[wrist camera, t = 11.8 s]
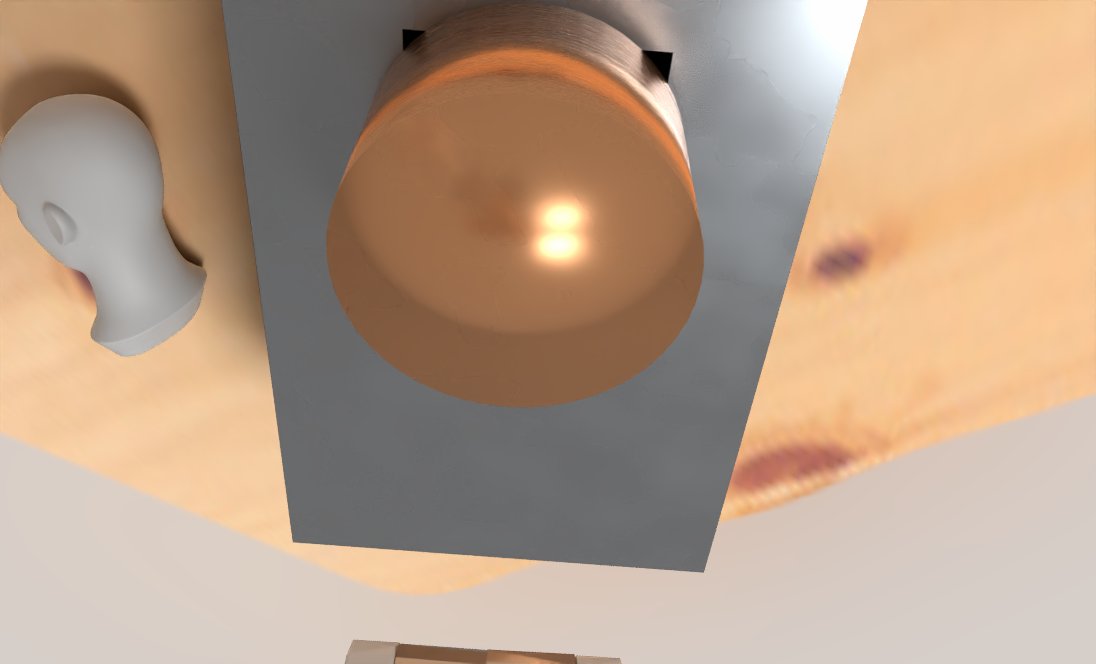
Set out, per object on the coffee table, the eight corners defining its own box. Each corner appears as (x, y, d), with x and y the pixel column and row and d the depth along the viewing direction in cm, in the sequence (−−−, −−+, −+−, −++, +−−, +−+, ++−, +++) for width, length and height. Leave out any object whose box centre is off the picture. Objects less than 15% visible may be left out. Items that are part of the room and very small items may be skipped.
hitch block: (345, 363, 34) (292, 542, 28) (307, -209, 23) (205, -122, 17) (682, 389, 35) (703, 572, 28) (804, -162, 24) (884, -61, 17)
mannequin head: (37, 58, 29) (181, 77, 28) (116, 280, 34) (242, 306, 32) (-80, 119, 26) (75, 144, 24) (25, 354, 31) (160, 386, 29)
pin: (414, 134, 28) (337, 393, 19) (411, -114, 24) (312, 76, 15) (644, 153, 28) (671, 420, 19) (682, -89, 24) (738, 113, 15)
